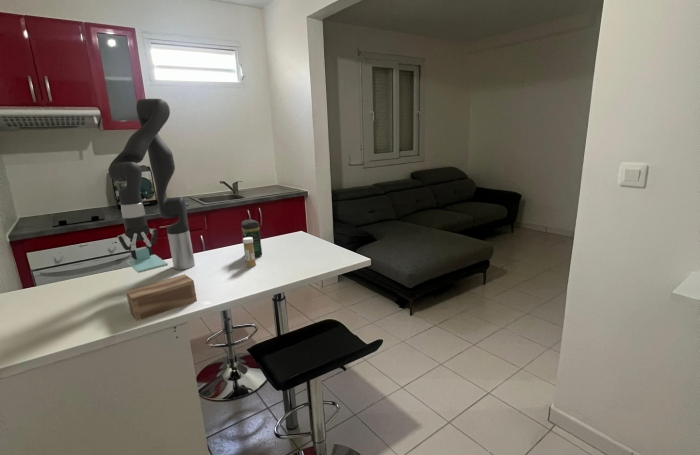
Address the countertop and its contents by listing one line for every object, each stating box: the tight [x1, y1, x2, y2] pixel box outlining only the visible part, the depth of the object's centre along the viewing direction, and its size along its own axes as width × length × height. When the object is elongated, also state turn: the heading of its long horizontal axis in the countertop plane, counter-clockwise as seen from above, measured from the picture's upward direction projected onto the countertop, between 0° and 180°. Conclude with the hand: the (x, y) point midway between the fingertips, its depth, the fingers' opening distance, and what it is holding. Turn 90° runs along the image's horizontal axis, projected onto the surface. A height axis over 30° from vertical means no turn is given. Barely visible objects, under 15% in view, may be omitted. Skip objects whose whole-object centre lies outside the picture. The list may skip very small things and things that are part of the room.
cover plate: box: [126, 246, 169, 274], centre depth 136 cm, size 16×10×5 cm, turn 44°
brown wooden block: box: [125, 273, 198, 322], centre depth 128 cm, size 9×20×8 cm, turn 133°
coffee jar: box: [240, 218, 263, 259], centre depth 178 cm, size 10×8×19 cm
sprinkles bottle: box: [242, 237, 257, 268], centre depth 165 cm, size 5×5×14 cm
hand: (142, 257), depth 140 cm, fingers closed on cover plate, 4 cm apart
